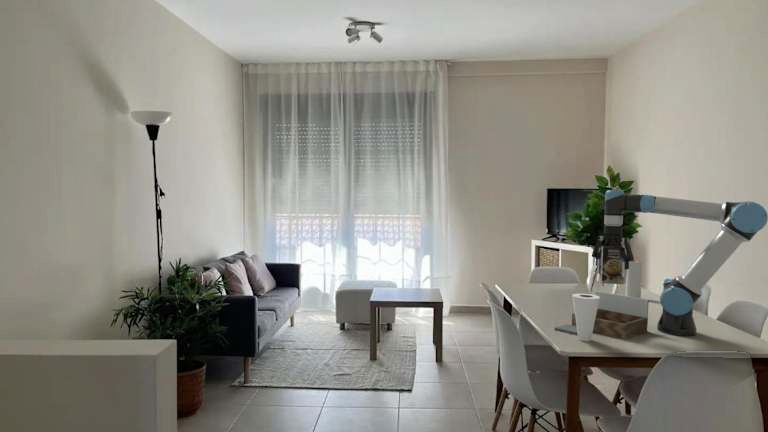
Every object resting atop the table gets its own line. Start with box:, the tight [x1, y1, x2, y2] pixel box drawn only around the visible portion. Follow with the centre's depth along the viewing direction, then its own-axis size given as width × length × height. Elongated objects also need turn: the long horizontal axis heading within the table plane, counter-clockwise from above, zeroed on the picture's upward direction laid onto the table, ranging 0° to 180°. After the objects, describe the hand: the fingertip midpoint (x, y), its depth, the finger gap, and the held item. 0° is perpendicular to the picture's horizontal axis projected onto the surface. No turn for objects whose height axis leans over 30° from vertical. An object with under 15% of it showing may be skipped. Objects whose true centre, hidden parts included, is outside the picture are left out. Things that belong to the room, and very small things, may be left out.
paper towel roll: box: [624, 260, 643, 298], centre depth 310 cm, size 7×6×21 cm
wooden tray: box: [571, 309, 649, 340], centre depth 237 cm, size 24×21×6 cm
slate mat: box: [554, 323, 578, 336], centre depth 234 cm, size 10×10×1 cm
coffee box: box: [599, 245, 626, 285], centre depth 236 cm, size 9×6×16 cm
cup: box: [571, 293, 600, 342], centre depth 219 cm, size 11×11×18 cm
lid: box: [595, 290, 649, 319], centre depth 244 cm, size 24×1×8 cm, turn 40°
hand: (611, 275), depth 236 cm, fingers closed on coffee box, 11 cm apart
